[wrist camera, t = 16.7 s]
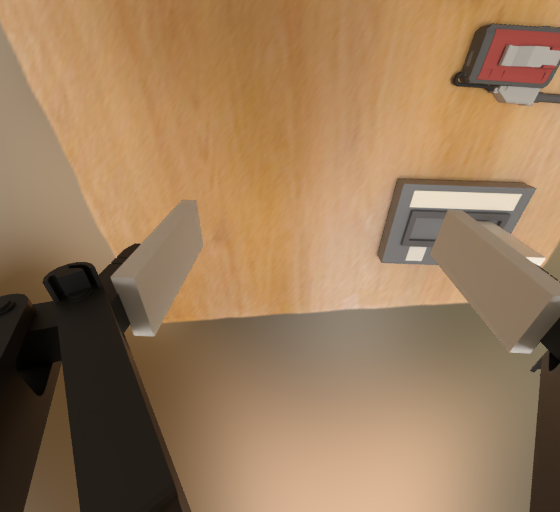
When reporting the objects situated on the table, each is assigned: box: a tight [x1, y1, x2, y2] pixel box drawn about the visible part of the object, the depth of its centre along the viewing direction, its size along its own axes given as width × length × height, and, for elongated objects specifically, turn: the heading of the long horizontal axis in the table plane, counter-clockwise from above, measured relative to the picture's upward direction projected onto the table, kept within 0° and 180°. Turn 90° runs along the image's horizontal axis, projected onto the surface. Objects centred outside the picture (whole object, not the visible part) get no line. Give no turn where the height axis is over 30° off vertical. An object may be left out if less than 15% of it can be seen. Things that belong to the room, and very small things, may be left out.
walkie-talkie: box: [453, 23, 560, 106], centre depth 36 cm, size 9×4×20 cm
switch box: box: [377, 179, 536, 265], centre depth 49 cm, size 16×22×4 cm
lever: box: [476, 220, 546, 266], centre depth 43 cm, size 4×3×12 cm
